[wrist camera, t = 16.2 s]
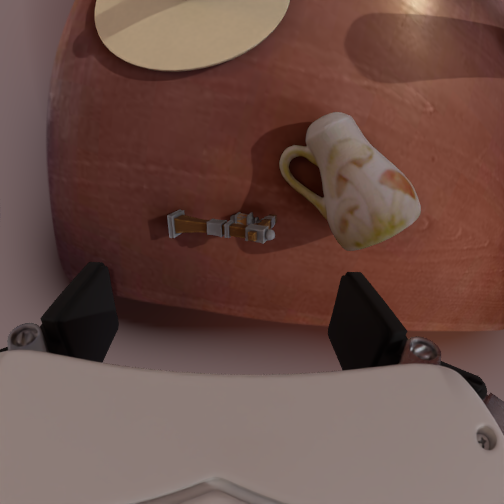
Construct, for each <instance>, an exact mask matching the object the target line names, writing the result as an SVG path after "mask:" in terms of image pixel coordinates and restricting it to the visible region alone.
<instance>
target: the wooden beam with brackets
mask: <svg viewBox="0 0 504 504" xmlns="http://www.w3.org/2000/svg"><path fill="white" fill-rule="evenodd" d="M167 218H168V228H169V237H170V238H175V237H176V236H178V235H180V234H181V233H184V232H205V233H207V235H216V236H220V237H222V236H224V235H225V238H226V237H227V238H229V237H231V236H234V237H241V238H246V241H254V242H260V243H263V244H264V243H265V242H266V241H267V240H272V239H273V238H274V237H275V233H274V231H273V230H271V229H272V228H273V227H274V224H275V223H276V215H269V216H266V217H265V218H263V219H260V220H259V218H258V217H256V218H254V217H253V212H251V213H250V214H242V213H240V212H239V213H237V214H236V215H232V216H231V217H230V221H228V222H227V220H216V219H211V220H203V219H198V218H193V217H189V216H186V215H184V210H183V211H182V210H178V211H176V212H174V213H172V214H170V215H168V216H167ZM261 220H263V221H261ZM259 221H260V222H259ZM268 229H269V230H268Z"/></svg>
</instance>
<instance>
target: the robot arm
mask: <svg viewBox="0 0 504 504" xmlns="http://www.w3.org/2000/svg"><path fill="white" fill-rule="evenodd" d="M41 321H42V325H41V326H40V327H39V326H38V325H37V324H33V323H26V324H22V325H20V326H17V327H16V328H15V329H13V330H12V332H11V333H10V334H9V336H8V341H7V342H8V347H6V348H3V349H1V350H0V504H504V402H503V401H502V400H500V399H499V398H498V397H496V396H495V395H493V394H492V393H490V394H489V396H488V395H487V388H486V386H485V383H484V382H483V381H482V379H481V378H480V377H478V376H476V375H474V374H471V373H469V372H466V371H464V370H461V369H459V368H457V367H454V366H452V365H449V364H447V363H444V362H442V361H441V351H440V349H439V347H438V346H437V345H436V344H435V343H434V342H432V341H431V340H429V339H427V338H424V337H411V338H410V339H407V337H406V336H405V335H406V333H407V330H406V329H405V327H404V326H403V325H402V323H401V322H400V321H399V320H398V318H397V317H396V316H395V314H394V313H393V312H392V310H391V309H390V308H389V307H388V305H387V304H386V303H385V301H384V300H383V299H382V298H381V296H380V295H379V294H378V293H377V291H376V290H375V289H374V288H373V286H372V285H371V284H370V283H369V281H368V280H367V279H366V278H365V277H364V275H363V274H362V273H361V272H347V273H346V275H345V276H342V277H341V281H340V285H339V289H338V293H337V297H336V301H335V305H334V309H333V313H332V317H331V320H330V324H329V328H328V336H329V339H330V341H331V344H332V346H333V348H334V351H335V353H336V355H337V358H338V360H339V362H340V365H341V367H342V371H331V372H318V373H303V374H302V373H300V374H272V375H232V374H230V375H229V374H205V373H187V372H174V371H162V370H153V369H144V368H136V367H128V366H120V365H114V364H107V363H102V362H103V360H104V358H105V356H106V354H107V351H108V349H109V347H110V345H111V343H112V340H113V338H114V336H115V334H116V332H117V330H118V325H119V323H118V317H117V313H116V308H115V303H114V298H113V293H112V287H111V282H110V276H109V270H108V267H107V266H105V265H104V264H103V263H100V262H89V263H88V264H87V265H86V266H85V267H84V268H83V269H82V271H81V272H80V273H79V274H78V275H77V276H76V277H75V278H74V279H73V280H72V282H71V283H70V284H69V285H68V286H67V287H66V288H65V290H64V291H63V292H62V293H61V294H60V295H59V297H58V298H57V299H56V300H55V301H54V303H53V304H52V305H51V306H50V307H49V309H48V310H47V311H46V312H45V313H44V315H43V316H42V317H41Z"/></svg>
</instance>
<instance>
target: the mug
mask: <svg viewBox="0 0 504 504" xmlns="http://www.w3.org/2000/svg"><path fill="white" fill-rule="evenodd" d="M306 144H307V146H298V145H293V146H290V147H288V148H286V149H285V150H284V152H283V153H282V155H281V158H280V162H279V165H280V166H279V167H280V170H281V174H282V176H283V177H284V179H285V180H286V181H287V182H288V184H289V185H290V186H291V187H292V188H293V189H295V190H296V191H297V192H299V193H300V194H301V195H303V196H304V197H305V198H306V199H307V200H308V201H310V202H311V203H312V204H313V205H314V206H315V207H316V208H317V209H318V210H319V211H320V213H321V215H322V216H323V217H324V218H325V219H327V220H328V223H329V226H330V229H331V231H332V233H333V235H334V237H335V238H336V240H337V241H338V243H339V244H340V245H341V246H342V247H343V248H344V249H345V250H347V251H353V250H359V249H363V248H366V247H370V246H372V245H375V244H378V243H380V242H382V241H385V240H387V239H389V238H391V237H393V236H394V235H396V234H398V233H399V232H401V231H402V230H404V229H405V228H407V227H408V226H409V225H411V224H412V223H413V222H415V221H416V219H417V218H418V217H419V215H420V212H421V210H420V209H421V206H420V203H419V200H418V197H417V194H416V191H415V189H414V187H413V185H412V184H411V182H410V181H409V180H408V179H407V178H406V176H405V175H404V174H403V173H402V172H401V171H400V170H399V169H398V168H396V167H395V166H394V165H393V164H392V163H391V162H390V161H389V160H388V159H386V158H385V157H384V156H383V155H382V154H381V153H379V152H378V151H377V150H376V149H375V148H374V147H373V146H372V145H371V144H370V143H369V142H368V141H367V139H366V138H365V137H364V136H363V134H362V133H361V131H360V129H359V128H358V126H357V125H356V123H355V121H354V120H353V118H352V117H351V116H349V115H347V114H344V113H341V112H334V113H330V114H327V115H325V116H322V117H321V118H319V119H317V120H316V121H314V122H313V123H312V124H311V125H310V126H309V128H308V130H307V133H306ZM297 156H303V157H305V158H307V159H308V160H309V161H310V162H312V163H313V164H315V165H317V166H318V167H319V169H320V173H321V178H322V185H323V193H324V197H323V198H322V197H319V196H318V195H317V194H315V193H313V192H312V191H310V190H309V189H308V188H306V187H305V186H303V185H302V184H301V183H300V182H298V181H297V180H296V179H295V178H294V177H293V175H292V174H291V172H290V170H289V164H290V161H291V160H292V159H293V158H295V157H297Z"/></svg>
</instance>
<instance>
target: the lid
mask: <svg viewBox="0 0 504 504" xmlns="http://www.w3.org/2000/svg"><path fill="white" fill-rule="evenodd" d="M289 2H290V0H96V6H95V25H96V29H97V32H98V35H99V37H100V38H101V40H102V42H103V43H104V45H105V46H106V47H107V48H108V49H109V50H110V51H111V52H112V53H113V54H115V55H116V56H117V57H119V58H121V59H122V60H124V61H126V62H128V63H130V64H133V65H135V66H138V67H141V68H145V69H149V70H156V71H172V72H178V71H191V70H196V69H202V68H207V67H210V66H214V65H218V64H221V63H223V62H226V61H229V60H232V59H234V58H236V57H238V56H240V55H242V54H244V53H246V52H247V51H249V50H251V49H252V48H254V47H256V46H257V45H258V44H259V43H261V42H262V41H263V40H265V39H266V38H267V37H268V36H269V35H270V34H271V33H272V32H273V31H274V30H275V28H276V27H277V26H278V25H279V23H280V22H281V20H282V18H283V17H284V15H285V13H286V11H287V8H288V5H289Z"/></svg>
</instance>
